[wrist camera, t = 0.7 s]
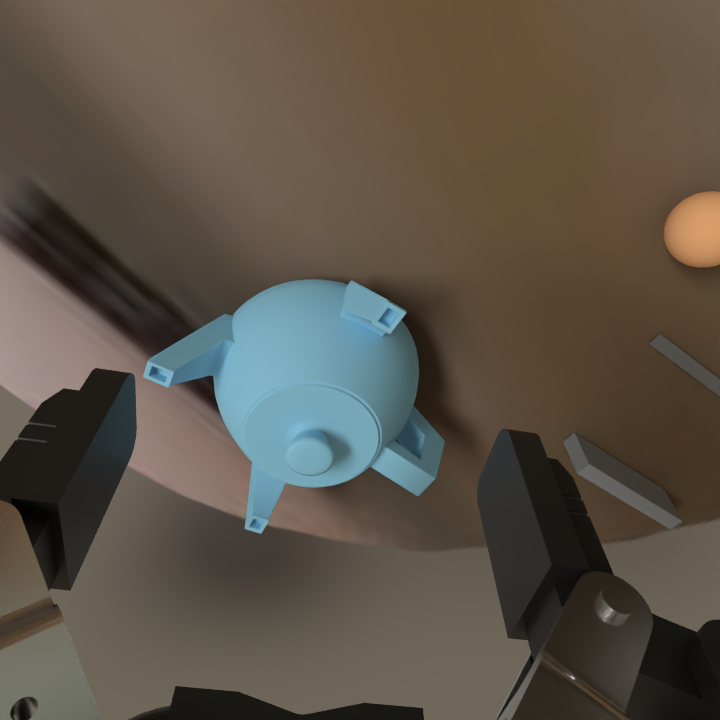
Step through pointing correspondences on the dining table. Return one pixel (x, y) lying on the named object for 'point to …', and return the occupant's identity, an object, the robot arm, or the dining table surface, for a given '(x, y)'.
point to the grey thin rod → (686, 363)
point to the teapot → (312, 389)
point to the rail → (621, 481)
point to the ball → (695, 230)
